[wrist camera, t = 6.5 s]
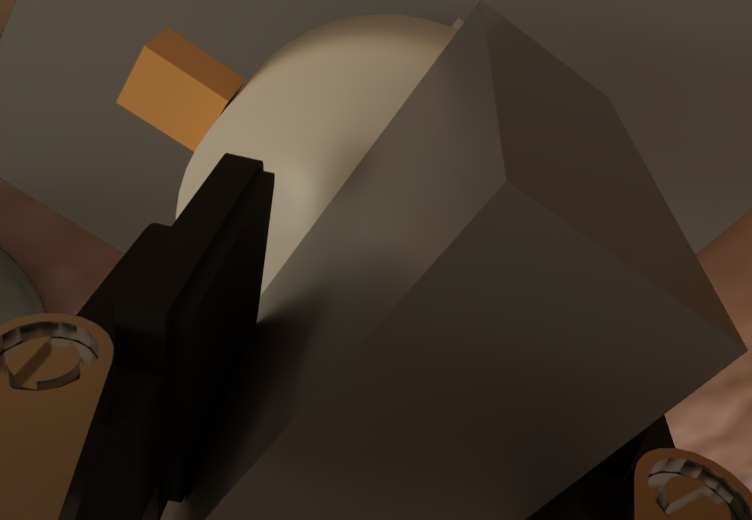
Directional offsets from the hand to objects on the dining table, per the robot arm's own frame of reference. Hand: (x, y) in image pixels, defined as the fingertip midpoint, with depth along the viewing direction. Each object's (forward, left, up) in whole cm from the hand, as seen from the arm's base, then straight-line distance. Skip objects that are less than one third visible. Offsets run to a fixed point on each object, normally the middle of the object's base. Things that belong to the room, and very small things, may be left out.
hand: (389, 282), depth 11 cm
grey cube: (-1, +1, -4) cm, 5 cm away
